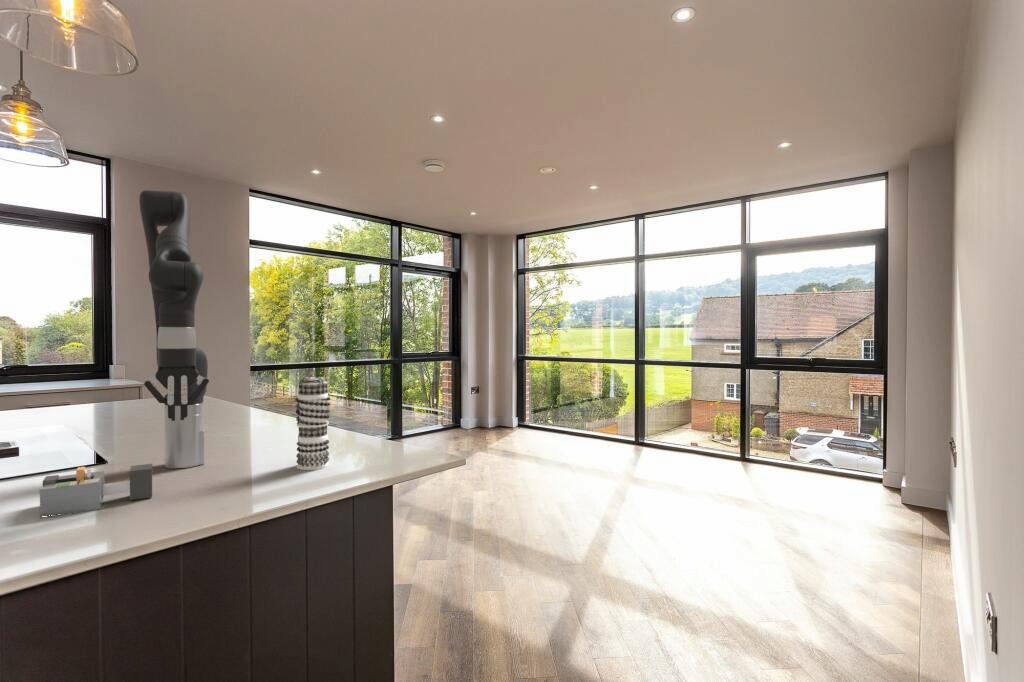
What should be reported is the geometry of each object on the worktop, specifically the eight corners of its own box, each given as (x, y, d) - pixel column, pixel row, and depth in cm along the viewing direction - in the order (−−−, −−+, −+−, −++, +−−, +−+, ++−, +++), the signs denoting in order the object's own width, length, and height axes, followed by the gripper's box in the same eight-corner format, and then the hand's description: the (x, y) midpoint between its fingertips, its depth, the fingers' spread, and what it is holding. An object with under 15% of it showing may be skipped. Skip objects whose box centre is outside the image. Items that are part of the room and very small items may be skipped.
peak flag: (85, 498, 113) (85, 466, 112) (84, 501, 110) (83, 469, 110) (78, 499, 112) (78, 467, 112) (76, 502, 110) (76, 470, 109)
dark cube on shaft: (152, 491, 120) (152, 459, 120) (152, 497, 116) (151, 464, 116) (89, 499, 114) (88, 466, 114) (86, 506, 110) (86, 471, 109)
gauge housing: (104, 496, 117) (104, 466, 117) (100, 509, 109) (99, 477, 109) (49, 503, 112) (48, 472, 112) (40, 518, 104) (39, 484, 103)
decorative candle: (326, 469, 141) (327, 379, 140) (291, 470, 139) (291, 379, 138) (333, 461, 150) (333, 375, 149) (299, 462, 148) (299, 375, 147)
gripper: (209, 345, 127) (209, 415, 127) (142, 346, 119) (142, 420, 120) (211, 346, 121) (212, 420, 121) (140, 347, 113) (141, 425, 114)
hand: (177, 419), depth 121 cm, fingers closed
